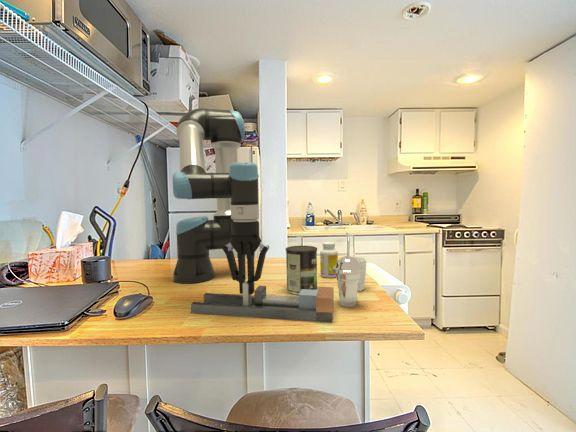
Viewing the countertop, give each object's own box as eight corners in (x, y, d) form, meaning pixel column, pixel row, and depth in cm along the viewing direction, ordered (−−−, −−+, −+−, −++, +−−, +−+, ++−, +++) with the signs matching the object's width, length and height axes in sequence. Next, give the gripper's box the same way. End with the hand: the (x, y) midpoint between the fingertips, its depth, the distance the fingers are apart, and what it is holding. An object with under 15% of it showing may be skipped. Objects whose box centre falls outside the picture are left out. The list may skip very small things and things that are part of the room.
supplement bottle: (340, 275, 116) (340, 242, 115) (333, 279, 110) (333, 245, 109) (324, 272, 119) (324, 241, 118) (317, 276, 114) (317, 243, 113)
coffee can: (318, 285, 103) (318, 245, 101) (315, 296, 92) (315, 251, 91) (289, 284, 105) (289, 244, 103) (283, 294, 94) (282, 250, 93)
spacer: (298, 317, 77) (298, 294, 76) (301, 310, 81) (301, 289, 81) (316, 318, 76) (316, 295, 76) (318, 311, 81) (318, 289, 80)
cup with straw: (327, 305, 85) (327, 235, 83) (341, 296, 92) (340, 232, 90) (356, 311, 80) (356, 238, 78) (367, 301, 87) (368, 233, 86)
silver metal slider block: (254, 312, 80) (254, 290, 79) (259, 306, 84) (259, 285, 83) (299, 315, 77) (298, 292, 77) (301, 308, 82) (301, 287, 81)
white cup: (361, 293, 94) (361, 262, 93) (338, 289, 98) (338, 260, 97) (369, 287, 100) (369, 257, 100) (347, 283, 105) (346, 255, 104)
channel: (190, 313, 81) (190, 291, 80) (206, 301, 89) (205, 281, 89) (332, 322, 73) (332, 298, 73) (333, 308, 82) (333, 287, 82)
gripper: (216, 221, 78) (219, 309, 80) (264, 221, 76) (266, 311, 77) (227, 219, 85) (230, 299, 87) (271, 219, 83) (273, 301, 85)
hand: (247, 305), depth 82 cm, fingers closed
